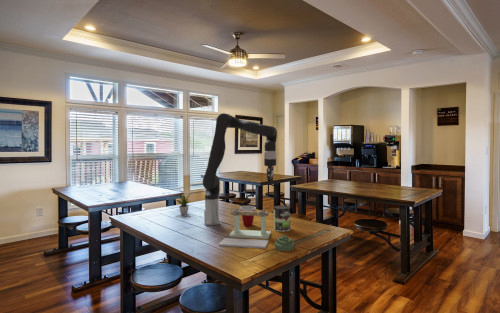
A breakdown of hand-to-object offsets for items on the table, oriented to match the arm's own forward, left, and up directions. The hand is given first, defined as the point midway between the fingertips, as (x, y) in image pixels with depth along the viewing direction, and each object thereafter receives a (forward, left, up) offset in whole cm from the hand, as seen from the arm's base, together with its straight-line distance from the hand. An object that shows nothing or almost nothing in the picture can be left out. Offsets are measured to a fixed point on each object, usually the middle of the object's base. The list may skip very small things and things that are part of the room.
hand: (270, 183), depth 187 cm
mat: (-10, -31, -28) cm, 43 cm away
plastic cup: (-16, +5, -29) cm, 33 cm away
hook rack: (-10, -16, -28) cm, 34 cm away
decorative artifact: (+12, -33, -29) cm, 45 cm away
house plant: (-73, +30, -29) cm, 84 cm away
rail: (-10, -16, -15) cm, 24 cm away
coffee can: (+7, -1, -29) cm, 29 cm away
